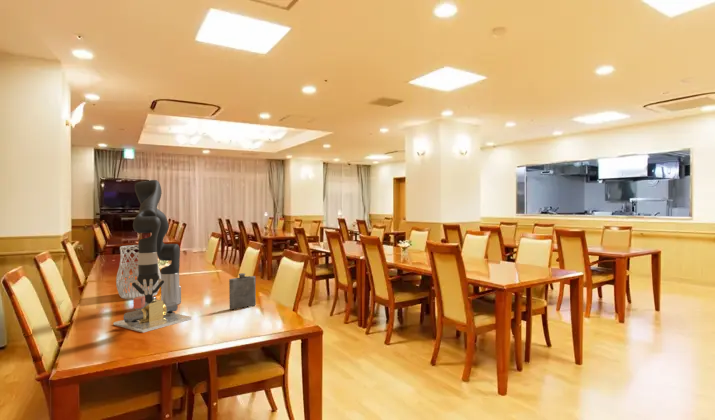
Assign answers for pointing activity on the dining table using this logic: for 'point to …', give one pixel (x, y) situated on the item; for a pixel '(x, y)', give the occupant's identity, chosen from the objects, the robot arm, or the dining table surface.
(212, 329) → the dining table surface
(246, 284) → the flask
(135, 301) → the lever
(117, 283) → the vase
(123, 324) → the valve
